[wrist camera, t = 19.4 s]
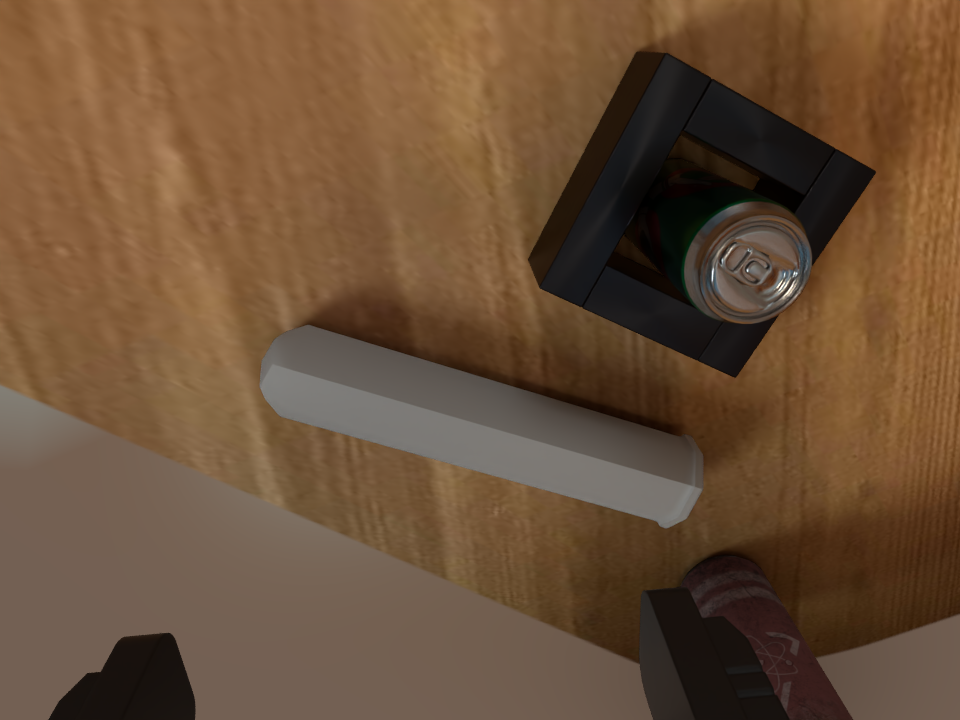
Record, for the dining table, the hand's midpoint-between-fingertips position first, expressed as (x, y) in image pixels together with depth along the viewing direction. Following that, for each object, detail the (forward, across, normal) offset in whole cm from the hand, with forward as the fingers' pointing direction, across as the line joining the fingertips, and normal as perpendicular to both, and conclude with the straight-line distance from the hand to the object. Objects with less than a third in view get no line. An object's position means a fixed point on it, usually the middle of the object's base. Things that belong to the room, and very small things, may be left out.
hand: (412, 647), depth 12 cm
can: (+28, -17, +26) cm, 42 cm away
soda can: (+28, -13, -1) cm, 31 cm away
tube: (+28, -2, +10) cm, 30 cm away
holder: (+28, -13, -1) cm, 31 cm away
